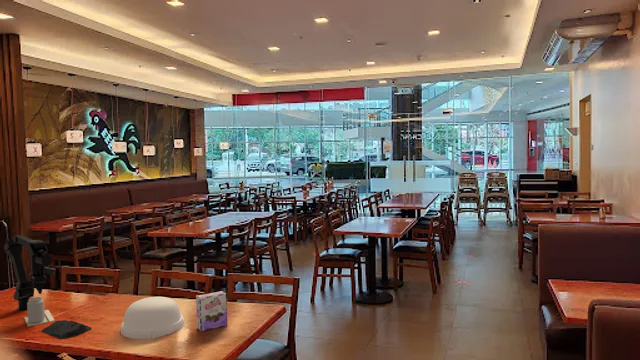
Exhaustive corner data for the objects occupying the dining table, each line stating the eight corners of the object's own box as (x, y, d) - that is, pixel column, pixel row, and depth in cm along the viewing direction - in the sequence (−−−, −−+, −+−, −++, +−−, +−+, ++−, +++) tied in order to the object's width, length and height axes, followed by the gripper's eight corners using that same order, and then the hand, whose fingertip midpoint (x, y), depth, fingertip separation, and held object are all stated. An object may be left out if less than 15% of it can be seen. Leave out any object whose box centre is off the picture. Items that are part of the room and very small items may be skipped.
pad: (24, 318, 259) (24, 317, 259) (43, 314, 264) (43, 313, 264) (27, 326, 246) (27, 325, 246) (47, 322, 251) (47, 321, 251)
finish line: (43, 311, 269) (43, 310, 269) (48, 310, 271) (48, 309, 271) (49, 322, 252) (49, 321, 252) (54, 320, 253) (54, 320, 253)
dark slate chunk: (68, 322, 251) (68, 313, 251) (94, 330, 239) (93, 321, 239) (38, 332, 238) (38, 323, 238) (63, 341, 226) (63, 331, 226)
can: (32, 324, 247) (30, 301, 246) (25, 322, 251) (24, 299, 250) (47, 320, 253) (46, 297, 252) (41, 317, 257) (39, 295, 256)
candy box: (200, 331, 233) (199, 298, 232) (196, 328, 238) (195, 295, 237) (227, 325, 240) (226, 293, 239) (223, 322, 245) (222, 290, 244)
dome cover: (122, 321, 251) (121, 294, 250) (182, 313, 261) (181, 287, 260) (118, 343, 221) (116, 313, 220) (186, 334, 231) (184, 305, 230)
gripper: (56, 264, 261) (58, 292, 262) (51, 258, 276) (53, 285, 277) (32, 267, 255) (34, 296, 256) (28, 261, 270) (30, 289, 271)
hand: (39, 291), depth 265 cm, fingers open, 9 cm apart
